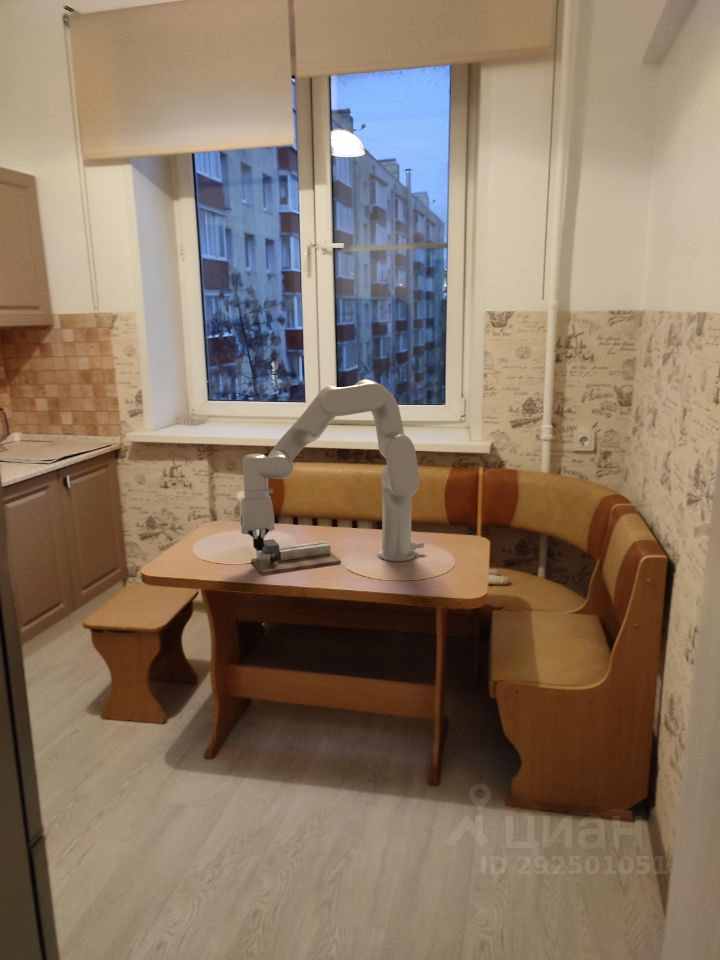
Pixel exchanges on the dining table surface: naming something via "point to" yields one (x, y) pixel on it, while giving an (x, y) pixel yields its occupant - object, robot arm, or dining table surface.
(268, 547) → the lock slider
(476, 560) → the dining table surface
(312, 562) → the cutting board
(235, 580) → the dining table surface
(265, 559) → the tongs frame
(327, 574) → the dining table surface
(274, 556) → the grey rectangular bar
